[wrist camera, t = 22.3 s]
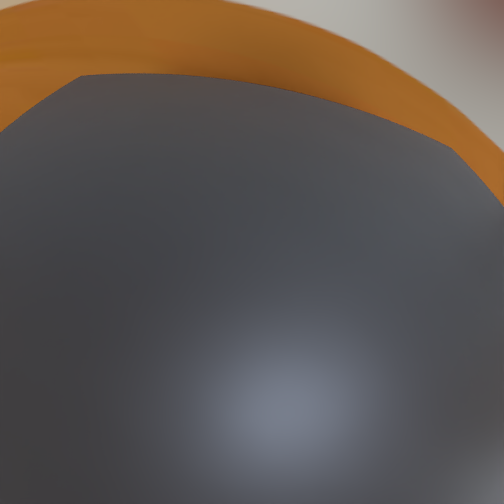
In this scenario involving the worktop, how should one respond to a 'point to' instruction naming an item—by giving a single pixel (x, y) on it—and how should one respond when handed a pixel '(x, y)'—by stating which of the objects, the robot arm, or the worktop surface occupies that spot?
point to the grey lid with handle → (243, 302)
